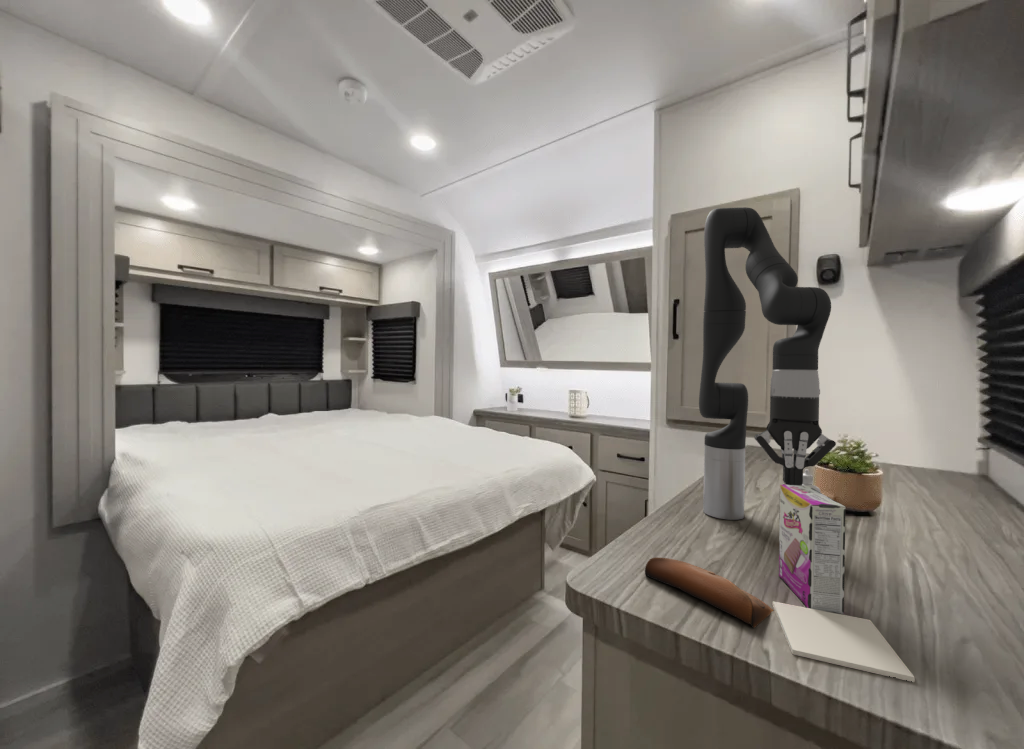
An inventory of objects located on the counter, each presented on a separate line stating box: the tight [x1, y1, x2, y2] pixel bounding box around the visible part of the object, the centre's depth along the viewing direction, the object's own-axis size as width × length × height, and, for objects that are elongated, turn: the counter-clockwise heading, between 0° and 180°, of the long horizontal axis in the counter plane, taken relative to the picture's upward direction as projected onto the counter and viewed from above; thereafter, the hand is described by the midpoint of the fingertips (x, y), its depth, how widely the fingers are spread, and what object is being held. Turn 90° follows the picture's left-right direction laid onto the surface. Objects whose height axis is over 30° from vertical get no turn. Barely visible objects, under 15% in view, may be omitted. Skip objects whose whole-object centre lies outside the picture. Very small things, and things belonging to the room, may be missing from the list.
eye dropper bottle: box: [802, 468, 821, 493], centre depth 103 cm, size 4×6×12 cm
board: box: [772, 600, 916, 683], centre depth 56 cm, size 12×12×1 cm
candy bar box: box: [778, 483, 847, 615], centre depth 67 cm, size 11×5×16 cm, turn 168°
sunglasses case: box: [644, 556, 775, 629], centre depth 67 cm, size 18×7×7 cm
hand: (792, 487), depth 77 cm, fingers closed
